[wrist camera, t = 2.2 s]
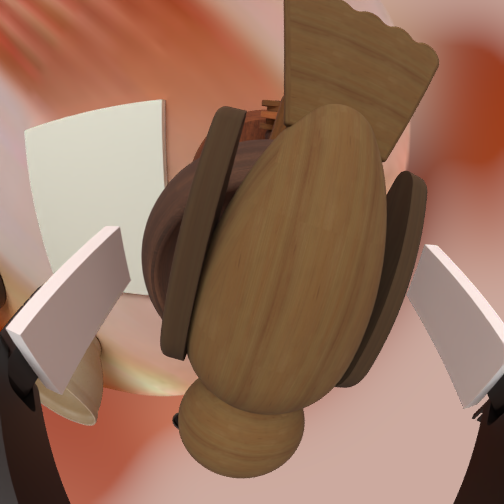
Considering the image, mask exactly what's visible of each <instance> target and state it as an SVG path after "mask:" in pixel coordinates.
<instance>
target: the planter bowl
mask: <svg viewBox="0 0 504 504" xmlns="http://www.w3.org/2000/svg"><path fill="white" fill-rule="evenodd" d="M100 354H101V346H100V343H99V341H98V339H97V338H96V336H95V337H94V339H93V340H92V342H91V344H90V345H89V347H88V349H87V350H86V352H85V354H84V356H83V357H82V359H81V361H80V363H79V364H78V366H77V368H76V370H75V372H74V373H73V375H72V377H71V379H70V381H69V383H68V385H67V387H66V388H65V390H64V392H63V394H62V395H60V394H58V393H56V392H54V391H52V390H49V389H47V388H46V387H45V386H44V384H43V383H42V382H41V381H40V379H39V378H37V380H36V382H35V384H36V385H37V387H38V390H39V394H40V401H41V403H42V404H43V405H44V406H46V407H47V408H49V409H50V410H52V411H54V412H55V413H57V414H59V415H61V416H63V417H65V418H67V419H69V420H71V421H74V422H77V423H80V424H84V425H94V424H95V423H96V421H97V416H98V410H99V407H100V403H101V399H102V392H103V372H102V365H101V361H100Z"/></svg>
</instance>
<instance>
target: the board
mask: <svg viewBox="0 0 504 504" xmlns="http://www.w3.org/2000/svg"><path fill="white" fill-rule="evenodd" d="M24 134H25V147H26V157H27V166H28V173H29V180H30V186H31V192H32V197H33V202H34V207H35V211H36V216H37V220H38V224H39V228H40V232H41V236H42V239H43V243H44V246H45V250H46V253H47V256H48V259H49V262H50V265H51V268H52V271H53V274H54V273H55V272H56V271H57V270H58V269H59V268H60V267H61V266H62V265H63V264H64V263H65V262H66V261H68V260H69V259H70V258H71V257H72V256H73V255H74V254H75V253H76V252H77V251H78V250H79V249H80V248H81V247H82V246H83V245H85V244H86V243H87V242H88V241H89V240H90V239H91V238H92V237H93V236H95V235H96V234H97V233H98V232H99V231H100V230H101V229H103V228H104V227H105V226H120V229H121V235H122V241H123V246H124V251H125V256H126V261H127V265H128V270H129V274H130V279H131V281H130V283H129V284H128V285H127V287H126V288H125V290H124V291H123V292H124V293H132V294H141V295H149V294H148V292H147V289H146V285H145V282H144V277H143V271H142V261H141V251H142V240H143V235H144V230H145V227H146V223H147V220H148V217H149V215H150V212H151V210H152V208H153V206H154V204H155V202H156V201H157V199H158V197H159V196H160V194H161V193H162V191H163V190H164V189H165V187H166V186H167V185H168V183H167V164H166V131H165V100H162V99H161V100H153V101H145V102H137V103H131V104H125V105H119V106H113V107H108V108H103V109H98V110H93V111H89V112H85V113H81V114H77V115H73V116H69V117H65V118H62V119H58V120H55V121H51V122H48V123H45V124H42V125H39V126H36V127H33V128H30V129H27V130H24Z"/></svg>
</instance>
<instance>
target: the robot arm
mask: <svg viewBox="0 0 504 504" xmlns="http://www.w3.org/2000/svg"><path fill="white" fill-rule="evenodd" d="M130 281H131V279H130V274H129V270H128V265H127V261H126V256H125V251H124V246H123V241H122V235H121V229H120V226H105V227H104V228H103V229H101V230H100V231H99V232H98V233H97V234H96V235H95V236H93V237H92V238H91V239H90V240H89V241H88V242H87V243H86V244H85V245H83V246H82V247H81V248H80V249H79V250H78V251H77V252H76V253H75V254H74V255H73V256H72V257H71V258H70V259H69V260H68V261H66V262H65V263H64V264H63V265H62V266H61V267H60V268H59V269H58V270H57V271H56V272H55V273H54V274H53V275H52V276H51V277H50V278H49V280H48V281H47V282H46V283H45V284H43V285H42V286H40V287H39V288H38V289H37V290H36V291H35V292H34V293H33V294H32V295H31V296H30V299H28V300H27V301H26V302H25V303H24V306H21V307H20V309H19V310H18V311H17V312H16V313H15V314H14V316H13V317H12V318H11V319H10V321H9V322H8V323H7V324H6V325H5V327H4V328H3V329H2V330H1V331H0V504H70V501H69V499H68V497H67V494H66V492H65V490H64V487H63V484H62V481H61V479H60V476H59V473H58V470H57V467H56V464H55V461H54V458H53V454H52V451H51V447H50V443H49V440H48V436H47V431H46V427H45V422H44V418H43V412H42V407H41V401H40V394H39V390H38V387H37V385H36V384H35V382H36V380H37V378H39V379H40V381H41V382H42V383H43V384H44V386H45V387H46V388H47V389H49V390H52V391H54V392H56V393H58V394H60V395H62V394H63V392H64V390H65V388H66V387H67V385H68V383H69V381H70V379H71V377H72V375H73V373H74V372H75V370H76V368H77V366H78V364H79V363H80V361H81V359H82V357H83V356H84V354H85V352H86V350H87V349H88V347H89V345H90V344H91V342H92V340H93V339H94V337H95V335H96V334H97V332H98V330H99V329H100V327H101V325H102V324H103V322H104V321H105V319H106V317H107V316H108V314H109V313H110V311H111V310H112V308H113V307H114V305H115V303H116V302H117V300H118V299H119V297H120V296H121V294H122V293H123V291H124V290H125V288H126V287H127V285H128V284H129V283H130ZM407 297H408V298H409V300H410V302H411V303H412V305H413V307H414V308H415V310H416V312H417V313H418V315H419V317H420V319H421V321H422V323H423V324H424V326H425V328H426V330H427V332H428V333H429V335H430V337H431V339H432V341H433V343H434V345H435V347H436V349H437V351H438V353H439V355H440V357H441V359H442V361H443V363H444V365H445V367H446V369H447V371H448V373H449V376H450V378H451V380H452V382H453V385H454V387H455V389H456V391H457V394H458V396H459V399H460V401H461V404H462V406H463V409H465V408H468V407H471V406H473V405H476V404H478V403H479V402H480V401H481V399H482V398H483V397H484V396H485V395H486V394H488V397H489V399H488V401H487V402H486V403H485V404H484V405H483V406H482V407H481V408H480V409H479V410H478V411H476V413H474V415H473V417H472V419H475V418H476V417H477V416H478V415H479V414H480V413H483V414H482V415H481V416H480V417H479V418H478V419H477V421H479V422H481V423H480V427H479V432H478V436H477V439H476V443H475V447H474V450H473V453H472V457H471V460H470V463H469V466H468V469H467V472H466V475H465V477H464V480H463V482H462V485H461V487H460V490H459V492H458V494H457V497H456V499H455V501H454V504H504V323H503V322H502V320H501V319H500V318H499V316H498V315H497V314H496V312H495V311H494V310H493V309H492V307H491V306H490V304H489V303H488V302H487V301H486V299H485V298H484V297H483V296H482V294H481V293H480V292H479V291H478V290H477V288H476V287H475V286H474V285H473V284H472V283H471V281H470V280H469V279H468V278H467V277H466V276H465V275H464V273H463V272H462V271H461V270H460V269H459V268H458V267H457V266H456V265H455V264H454V262H453V261H452V260H451V259H450V258H449V257H448V256H447V255H446V254H445V253H444V252H443V251H442V250H441V249H440V248H439V247H438V246H437V245H426V244H425V245H424V248H423V251H422V254H421V257H420V260H419V263H418V266H417V269H416V272H415V274H414V277H413V280H412V282H411V286H410V288H409V290H408V293H407ZM5 299H6V296H5V289H4V285H3V282H2V279H1V277H0V308H1V307H2V306H3V305H4V303H5Z"/></svg>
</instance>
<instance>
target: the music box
mask: <svg viewBox="0 0 504 504" xmlns="http://www.w3.org/2000/svg"><path fill="white" fill-rule="evenodd" d="M438 66H439V59H438V56H437V54H436V52H435V51H434V50H433V48H431V47H430V46H429V45H427V44H425V43H418V42H415V41H414V40H413V39H412V38H411V36H410V35H409V34H408V33H407V32H406V31H405V30H403V29H401V28H399V27H390V26H388V25H386V24H385V23H384V22H383V21H382V20H381V19H380V18H379V17H378V16H376V15H375V14H373V13H370V12H366V11H363V12H359V11H356V10H354V9H353V8H352V7H351V6H350V5H349V4H348V3H346V2H345V1H343V0H284V96H283V97H282V99H281V101H272V100H262V106H267V110H255V111H249V112H247V111H245V110H241V109H237V108H232V107H228V106H224V107H221V108H219V109H218V110H217V112H216V113H215V115H214V118H213V120H212V123H211V126H210V129H209V132H208V134H207V137H206V138H205V139H204V141H203V142H202V144H201V145H200V147H199V148H198V150H197V152H196V155H195V157H194V160H193V162H192V163H190V164H189V165H188V166H186V167H185V168H184V169H183V170H181V171H180V172H179V173H178V174H177V175H176V176H175V177H174V178H173V179H172V180H171V181H170V182H169V184H168V185H167V186H166V187H165V189H164V190H163V191H162V193H161V194H160V196H159V197H158V199H157V201H156V202H155V204H154V206H153V208H152V210H151V212H150V215H149V217H148V220H147V223H146V227H145V230H144V235H143V240H142V251H141V261H142V271H143V277H144V282H145V285H146V289H147V292H148V294H149V297H150V299H151V301H152V303H153V305H154V307H155V309H156V311H157V313H158V314H159V316H160V317H161V319H162V327H161V337H160V346H161V350H162V352H163V354H164V355H166V356H168V357H171V358H175V359H179V360H182V361H184V359H185V357H186V354H188V357H189V360H190V363H191V365H192V367H193V369H194V371H195V373H196V374H197V376H198V377H199V378H198V379H197V380H196V381H195V382H194V383H193V384H192V385H191V386H190V387H189V389H188V390H187V391H186V393H185V395H184V397H183V399H182V401H181V404H180V407H179V413H176V414H175V415H174V416H173V420H172V421H173V424H174V426H175V427H176V428H178V429H179V433H180V436H181V439H182V442H183V444H184V446H185V447H186V449H187V451H188V452H189V453H190V455H191V456H192V457H193V458H194V459H195V460H196V461H197V462H198V463H200V464H201V465H202V466H204V467H205V468H207V469H208V470H210V471H212V472H214V473H217V474H219V475H223V476H226V477H232V478H252V477H257V476H261V475H264V474H267V473H269V472H272V471H273V470H276V469H277V468H279V467H280V466H282V465H283V464H284V463H285V462H286V461H287V460H288V459H290V457H291V456H292V455H293V454H294V452H295V451H296V449H297V448H298V446H299V444H300V441H301V439H302V436H303V431H304V411H303V408H305V407H307V406H309V405H311V404H313V403H315V402H316V401H318V400H319V399H321V398H322V397H324V396H325V395H326V394H327V393H329V391H331V390H332V389H333V388H334V387H344V388H347V387H351V386H354V385H356V384H358V383H359V382H360V381H361V380H362V379H363V378H364V377H365V376H366V375H367V373H368V372H369V370H370V368H371V367H372V365H373V363H374V361H375V360H376V358H377V356H378V355H379V353H380V351H381V349H382V347H383V345H384V343H385V341H386V339H387V337H388V335H389V333H390V331H391V329H392V326H393V324H394V322H395V320H396V317H397V315H398V313H399V310H400V307H401V305H402V302H403V299H404V297H405V294H406V291H407V288H408V285H409V282H410V279H411V275H412V272H413V269H414V265H415V261H416V257H417V253H418V249H419V245H420V240H421V235H422V229H423V224H424V217H425V210H426V201H427V186H426V184H425V182H424V180H423V179H421V178H420V177H418V176H416V175H414V174H412V173H410V172H408V171H403V172H401V173H400V174H399V175H398V176H397V178H396V179H395V181H394V183H393V185H392V186H391V188H390V190H389V192H388V194H387V195H386V186H385V177H384V171H383V165H382V162H385V161H386V160H387V158H388V157H389V155H390V153H391V152H392V150H393V148H394V147H395V145H396V143H397V142H398V140H399V138H400V136H401V135H402V133H403V131H404V130H405V128H406V126H407V124H408V123H409V121H410V119H411V117H412V116H413V114H414V112H415V110H416V108H417V107H418V105H419V103H420V101H421V99H422V97H423V96H424V94H425V92H426V90H427V88H428V86H429V84H430V82H431V80H432V78H433V76H434V74H435V72H436V70H437V68H438Z"/></svg>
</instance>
